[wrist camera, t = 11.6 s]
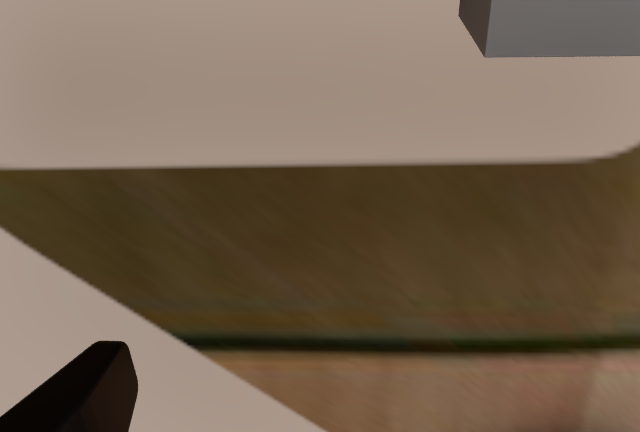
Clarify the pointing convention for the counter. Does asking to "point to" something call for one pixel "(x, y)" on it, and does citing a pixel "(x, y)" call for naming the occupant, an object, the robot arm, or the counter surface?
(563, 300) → the counter surface
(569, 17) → the well block
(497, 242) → the counter surface
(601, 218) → the counter surface
